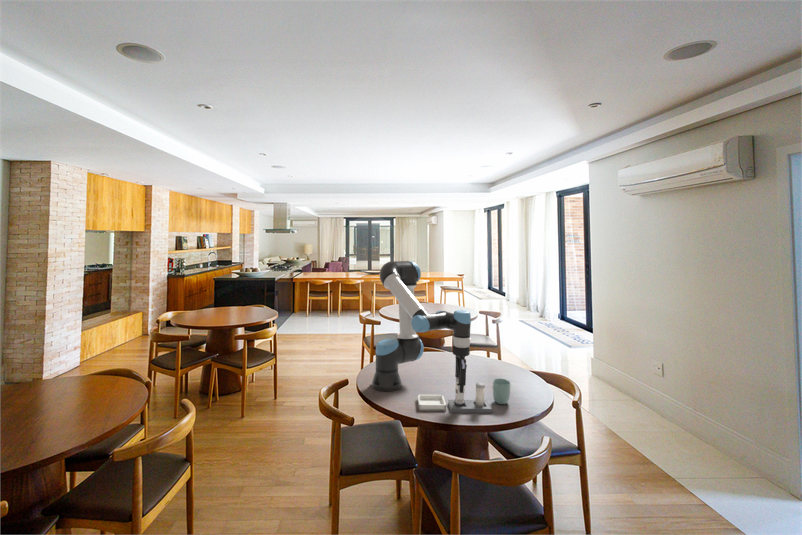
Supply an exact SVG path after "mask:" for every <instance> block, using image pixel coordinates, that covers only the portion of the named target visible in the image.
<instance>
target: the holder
mask: <svg viewBox="0 0 802 535" xmlns="http://www.w3.org/2000/svg"><path fill="white" fill-rule="evenodd" d="M475 405H476V399H464V404H461V405H460V404H456V403H455V399H448V406H449V409H450V412H451V413H453V414H454V413H455V414H456V413H457V414H458V413H459V414H460V413H461V414H463V413H464V414H465V413H466V414H467V413H468V414H469V413H470V414H475V413H477V414H486V413H487V414H492V413H493V411H494V410H493V407H492V405H491V404H490V402H489V401H488V399H484V407H476V406H475Z"/></svg>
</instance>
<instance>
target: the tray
mask: <svg viewBox="0 0 802 535" xmlns="http://www.w3.org/2000/svg"><path fill="white" fill-rule="evenodd" d="M417 404H418V406H417V407H418V410H419V411H442V412H443V411H444V412H445V411H447V403H446V400H445V397H444V395H443V394H417Z"/></svg>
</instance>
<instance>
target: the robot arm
mask: <svg viewBox="0 0 802 535" xmlns="http://www.w3.org/2000/svg"><path fill="white" fill-rule="evenodd" d="M421 276H422V272H421V268H420V266H419V265H418V264H417V263H416V262H414V261H412V260H402V261H401V260H400V261H399V260H398V261H397V260H396V261H395V260H392V261H388V262H386V263H384V264H383V265H382V266H381V268H380V271H379V280H380V282H381V284H382V285H383V287H384V288H385V289H387V290H389V291H390V293H391V294H392V295H393V296H394V297H395V299H396V300H397V302H398V316H399V321H398V323H399V334H398V335H397V336H396V339H395V338H389V339H388V338H387V339H382V340H380V341H378V342H377V343H376V345H375V346H376V347H375V372H374V374H373V377H372V381H371V387H372V388H373V389H374V390H376V391H381V392H394V391H397V390H400V389H401V387H402V379H401V376H400V373H399V365H400V364H405V363H409V362H416V361H417V360H419V359H421V358H422V356H423V354H424V343H423V341H422V340H421V338H420V336H419V334H417V333H426V332H431V331H439V330H444V329H445V330H446V329H447V330H451V331H452V332H453V333H452V354H453V355H454V356H455V371H454V372H455V378H456V377H459V383H458V384H457V385H458V398H457V399H464V400H465V386H466V380H467V379H466V378H467V366H468V365H467V359H466V357H468V356H469V355H470V351H471V350H470V349H471V347H470V344H471V341H472V338H471V326H472V325H471V324H472V319H471V312H470V311H468V310H463V309H462V310H461V309H460V310H459V309H458V310H454V311H453V313H452V312H450V311H446V310H437V311H436V312H435V313H429V312H428V310H426V309H425V308H424V306H423V305H422V304H421V303H420V302H419V300H418V299H417V298H416V297H415V289H416V287H417V285H418V284H417V282H419V281H420V279H421Z"/></svg>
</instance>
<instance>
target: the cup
mask: <svg viewBox="0 0 802 535" xmlns="http://www.w3.org/2000/svg"><path fill="white" fill-rule="evenodd" d="M510 396H511V381H510V380H508V379H505V378H495V379H493V381H492V398H493V401H494V402H495V403H497V404H499V405H506V404H507V403H509V401H510Z"/></svg>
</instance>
